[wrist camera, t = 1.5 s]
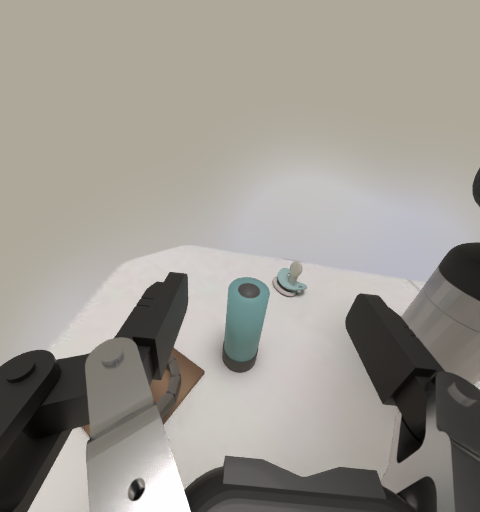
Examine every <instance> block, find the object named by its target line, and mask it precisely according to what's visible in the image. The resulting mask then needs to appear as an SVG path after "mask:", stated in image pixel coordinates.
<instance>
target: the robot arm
mask: <svg viewBox="0 0 480 512" xmlns="http://www.w3.org/2000/svg"><path fill="white" fill-rule="evenodd" d="M473 196H474V199H475V201H476V203H477V204H478V205H479V206H480V168H479V170H478V172H477V174H476V176H475V179H474V182H473ZM187 305H188V277H187V274H184V273H175V272H170V273H169V274H168V276H167V277H166V279H165V281H164V282H156V283H154V284H153V285H151V286H150V287H149V288H147V290H146V291H145V293H144V294H143V296H142V297H141V299H140V300H139V302H138V303H137V306H135V308H134V309H133V311H132V312H131V314H130V315H129V317H128V318H127V320H126V321H125V323H124V324H123V326H122V327H121V329H120V330H119V332H118V333H117V335H116V336H115V338H113V339H110V340H108V341H105V342H103V343H102V344H100V345H99V346H97V347H96V348H95V349H94V350H93V351H92V352H91V353H89V354H85V355H80V356H75V357H69V358H64V359H58V360H56V359H55V357H54V355H53V354H52V353H51V352H49V351H46V350H35V351H30V352H26V353H23V354H21V355H18V356H16V357H14V358H13V359H11V360H9V361H8V362H6V363H4V364H3V365H2V366H0V512H27V511H28V509H29V508H30V506H31V504H32V502H33V500H34V498H35V497H36V495H37V493H38V491H39V489H40V488H41V486H42V484H43V482H44V480H45V478H46V477H47V475H48V473H49V471H50V469H51V467H52V466H53V464H54V462H55V460H56V458H57V456H58V455H59V453H60V451H61V449H62V447H63V446H64V444H65V442H66V440H67V438H68V436H69V435H70V433H71V431H72V429H74V428H77V427H81V426H85V425H89V424H90V440H89V441H88V442H87V447H86V463H87V478H88V493H89V508H90V512H480V390H479V389H478V388H477V387H475V386H474V384H475V383H477V382H478V381H479V380H480V243H466V244H461V245H458V246H456V247H454V248H453V249H451V250H450V251H449V252H448V254H447V255H446V256H445V257H444V259H443V260H442V262H441V263H440V265H439V266H438V267H437V269H436V270H435V272H434V273H433V274H432V276H431V277H430V278H429V280H428V281H427V282H426V284H425V285H424V287H423V288H422V289H421V291H420V292H419V294H418V295H417V296H416V298H415V299H414V300H413V302H412V303H411V304H410V306H409V307H408V308H407V310H406V311H405V313H404V314H403V315H402V317H400V316H399V315H398V314H397V313H395V312H394V311H393V310H392V309H390V308H388V306H387V305H386V304H385V302H384V301H383V300H382V299H381V298H380V297H379V296H377V295H369V294H359V295H357V297H356V299H355V301H354V303H353V305H352V307H351V309H350V311H349V313H348V315H347V317H346V322H345V323H346V329H347V332H348V334H349V336H350V338H351V340H352V342H353V344H354V346H355V348H356V350H357V352H358V354H359V356H360V358H361V360H362V362H363V364H364V366H365V369H366V371H367V373H368V375H369V377H370V379H371V381H372V383H373V385H374V387H375V389H376V391H377V393H378V395H379V397H380V399H381V401H382V403H383V404H385V405H395V406H397V407H398V409H399V412H398V413H397V415H396V418H395V425H394V432H393V439H392V446H391V453H390V460H389V465H388V468H387V471H386V473H385V474H384V476H383V478H382V480H381V482H380V479H379V476H378V474H377V471H375V470H365V469H355V468H345V467H338V468H335V469H331V470H328V471H325V472H321V473H318V474H315V475H311V476H308V477H301V476H298V475H296V474H294V473H292V472H289V471H287V470H285V469H283V468H280V467H278V466H276V465H274V464H272V463H269V462H267V461H265V460H263V459H253V458H243V457H233V456H225V460H224V465H223V466H222V467H219V468H215V469H213V470H211V471H209V472H207V473H205V474H203V475H202V476H200V477H199V478H197V479H196V480H195V481H194V482H192V483H191V484H190V485H189V486H188V487H187V488H186V489H185V490H184V489H183V486H182V483H181V480H180V477H179V474H178V470H177V467H176V464H175V461H174V458H173V455H172V451H171V448H170V445H169V442H168V439H167V436H166V433H165V429H164V426H163V423H162V420H161V417H160V414H159V411H158V408H157V405H156V403H155V402H154V399H153V396H152V393H151V390H150V385H151V382H152V380H162V377H163V374H164V372H165V369H166V366H167V363H168V361H169V358H170V355H171V352H172V350H173V347H174V344H175V341H176V338H177V336H178V333H179V330H180V327H181V325H182V322H183V319H184V316H185V313H186V310H187Z"/></svg>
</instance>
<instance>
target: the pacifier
mask: <svg viewBox="0 0 480 512" xmlns="http://www.w3.org/2000/svg"><path fill="white" fill-rule="evenodd" d="M301 272H302V265H301V264H300V263H299V262H293V263H292V264H291V266H290V269H288V268H283V269H281V270H280V271H279V272H278V277H275V278H274V279H273V285H274V287H275V288H276V289H277V290H278V291H279V292H280V293H282V294H283V295H286V296H294V295H295V294H296V291H298V290H304V289H306V288H307V286H306V285H305V284H302V283H300V282H297V277H298V276H299V275H300V274H301ZM288 274H290V276H288ZM277 281H279V283H280V284H281V285H282V286H283V287H284V288H286V289H287V290H289V291H292V292H287V291H284V290H283V289H281V288H280V287H279V285H278V284H277ZM299 287H302V288H299Z"/></svg>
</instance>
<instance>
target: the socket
mask: <svg viewBox="0 0 480 512" xmlns="http://www.w3.org/2000/svg"><path fill="white" fill-rule="evenodd" d="M203 374H204V370H202V369H201V368H200V367H198V366H197V365H196V364H194V363H193V362H192V361H190V360H189V359H188V358H186V357H185V356H184V355H182V354H181V353H180V352H178V351H177V350H176V349H174V348H173V350H172V352H171V355H170V358H169V361H168V363H167V366H166V369H165V372H164V374H163V377H162V380H152V382H151V385H150V390H151V393H152V396H153V399H154V402H155V403H156V405H157V408H158V411H159V414H160V417H161V420H162V423H163V424H164V423H165V422H166V421H167V419H168V418H169V417H170V416H171V414H172V413H173V412H174V411H175V409H176V408H177V407H178V406H179V404H180V403H181V402H182V401H183V399H184V398H185V397H186V396H187V394H188V393H189V392H190V391H191V389H192V388H193V387H194V386H195V384H196V383H197V382H198V381H199V379H200V378H201V377H202V376H203ZM82 427H83V428H84V430H85V431H86V432H87V434H88V435H89V436H90V424H89V425H85V426H82Z"/></svg>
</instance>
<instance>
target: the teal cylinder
mask: <svg viewBox="0 0 480 512" xmlns="http://www.w3.org/2000/svg"><path fill="white" fill-rule="evenodd" d="M269 295H270V292H269V289H268V287H267V286H266V285H265V284H264V283H263V282H261V281H260V280H257V279H254V278H249V277H244V278H239V279H236V280H234V281H233V282H232V283H231V284H230V285H229V289H228V302H227V314H226V327H225V339H224V344H223V361H224V363H225V365H226V366H227V367H228V368H229V369H230V370H232V371H235V372H246V371H248V370H250V369H251V368H252V367H253V365H254V364H255V361H256V356H257V352H258V344H259V340H260V335H261V331H262V326H263V322H264V317H265V313H266V309H267V304H268V300H269Z"/></svg>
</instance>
